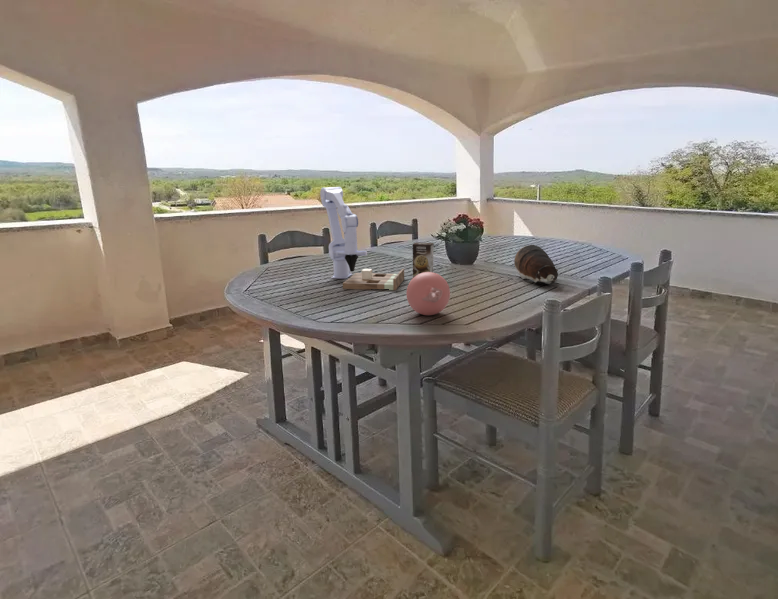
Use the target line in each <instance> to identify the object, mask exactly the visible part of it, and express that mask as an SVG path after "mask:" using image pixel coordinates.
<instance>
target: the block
mask: <svg viewBox="0 0 778 599" xmlns="http://www.w3.org/2000/svg"><path fill="white" fill-rule="evenodd" d="M361 273H362V279H371V278H372V273H373V269H372V268H363V269H361Z"/></svg>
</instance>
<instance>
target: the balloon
mask: <svg viewBox="0 0 778 599" xmlns="http://www.w3.org/2000/svg"><path fill="white" fill-rule="evenodd" d="M405 292H406V299H407V303H408V305H409V306H410V308H412V310H414V311H415V312H416V313H417V314H420V315H422V316H434V315H437V314H439V313H441V312H442V311H443V310H444V309H445V308H446V307H447V306H448V303H449V302H450V298H451V288H450V285H449V284H448V282H447V280H446V279H445V278H444V277H443V276H441V275H440V274H438V273H436V272H434V271H433V272H423V273H420V274H418V275H416V276H415V277H412V278H411V279H410V281H409V283H408V285H407V287H406V291H405Z"/></svg>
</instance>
